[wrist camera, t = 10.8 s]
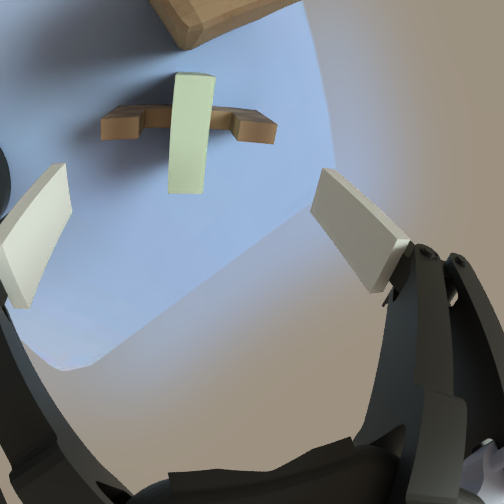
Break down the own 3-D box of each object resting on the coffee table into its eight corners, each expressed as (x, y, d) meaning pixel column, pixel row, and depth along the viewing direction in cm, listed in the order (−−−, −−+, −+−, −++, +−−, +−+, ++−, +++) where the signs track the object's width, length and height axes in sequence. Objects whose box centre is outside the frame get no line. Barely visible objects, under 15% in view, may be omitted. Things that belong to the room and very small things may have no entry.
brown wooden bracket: (118, 122, 27) (101, 140, 21) (118, 105, 26) (100, 119, 20) (253, 125, 32) (273, 144, 26) (256, 110, 31) (277, 124, 24)
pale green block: (195, 154, 32) (202, 193, 24) (170, 153, 31) (167, 193, 23) (204, 73, 26) (215, 76, 18) (177, 71, 26) (175, 74, 17)
